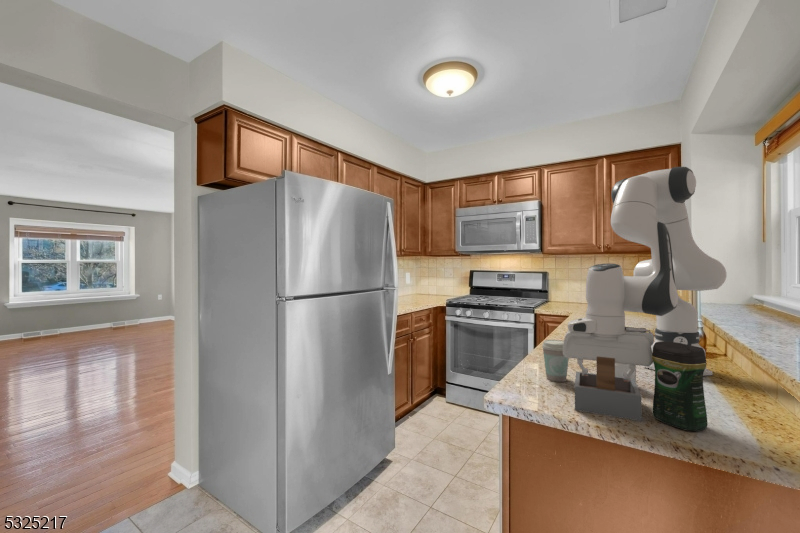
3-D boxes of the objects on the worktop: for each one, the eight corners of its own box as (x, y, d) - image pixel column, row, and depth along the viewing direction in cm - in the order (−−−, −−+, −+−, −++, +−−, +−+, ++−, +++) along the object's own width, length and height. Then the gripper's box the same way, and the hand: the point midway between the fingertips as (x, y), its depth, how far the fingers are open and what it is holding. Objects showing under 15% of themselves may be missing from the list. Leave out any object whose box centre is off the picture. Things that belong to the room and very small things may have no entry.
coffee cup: (543, 381, 109) (542, 344, 109) (541, 373, 117) (541, 338, 117) (572, 384, 106) (572, 345, 106) (569, 376, 114) (568, 340, 114)
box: (576, 392, 100) (576, 371, 100) (634, 400, 93) (634, 378, 93) (574, 409, 88) (574, 386, 88) (641, 421, 81) (641, 395, 81)
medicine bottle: (636, 390, 101) (636, 349, 101) (609, 388, 103) (609, 348, 103) (625, 382, 108) (625, 344, 108) (600, 381, 110) (600, 343, 110)
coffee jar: (714, 429, 77) (714, 346, 77) (690, 435, 74) (689, 349, 74) (668, 412, 86) (668, 337, 86) (645, 416, 84) (645, 340, 84)
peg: (596, 401, 93) (596, 353, 93) (614, 404, 91) (613, 354, 91) (597, 406, 90) (596, 356, 90) (615, 409, 88) (614, 358, 88)
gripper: (651, 326, 88) (652, 380, 88) (563, 321, 98) (563, 369, 98) (655, 330, 83) (656, 388, 83) (562, 324, 93) (562, 376, 93)
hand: (605, 378), depth 91 cm, fingers open, 8 cm apart
